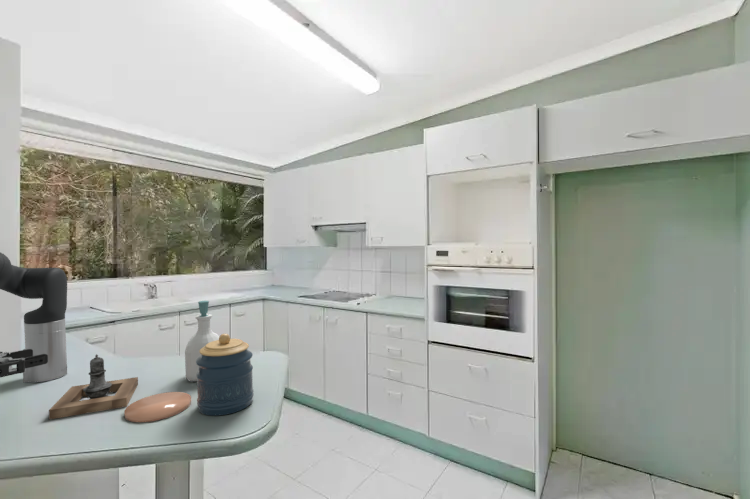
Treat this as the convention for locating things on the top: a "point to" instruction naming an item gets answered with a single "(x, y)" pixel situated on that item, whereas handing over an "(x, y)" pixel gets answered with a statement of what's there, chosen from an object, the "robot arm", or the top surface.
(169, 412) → the saucer
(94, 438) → the top surface
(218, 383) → the canister
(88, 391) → the salt shaker
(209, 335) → the soap bottle
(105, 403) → the wooden square frame
